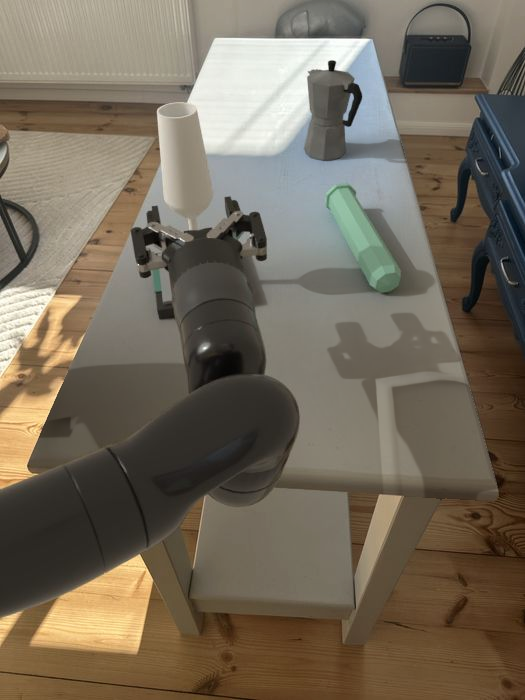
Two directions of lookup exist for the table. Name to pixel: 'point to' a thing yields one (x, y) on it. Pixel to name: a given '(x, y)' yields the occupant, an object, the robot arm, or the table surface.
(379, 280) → the container
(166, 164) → the champagne flute
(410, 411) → the table surface
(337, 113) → the coffeepot
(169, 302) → the scale
